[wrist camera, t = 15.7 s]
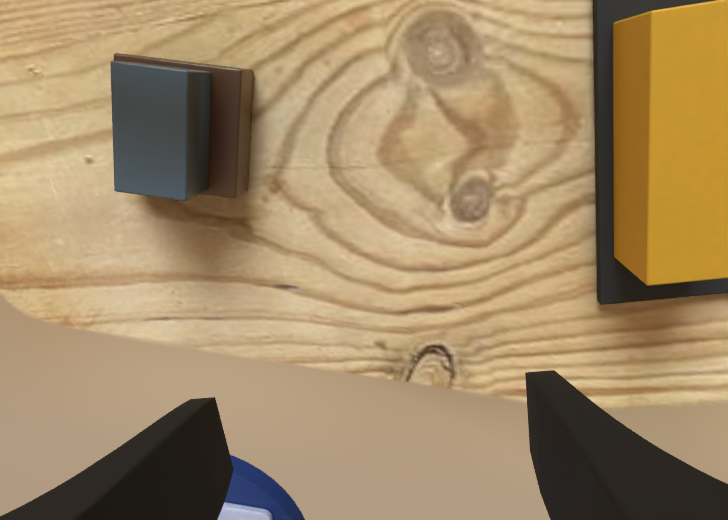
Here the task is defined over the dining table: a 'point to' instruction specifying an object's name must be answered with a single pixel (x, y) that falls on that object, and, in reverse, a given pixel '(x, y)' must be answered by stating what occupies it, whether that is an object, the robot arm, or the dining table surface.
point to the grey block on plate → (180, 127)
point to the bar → (671, 143)
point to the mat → (612, 276)
